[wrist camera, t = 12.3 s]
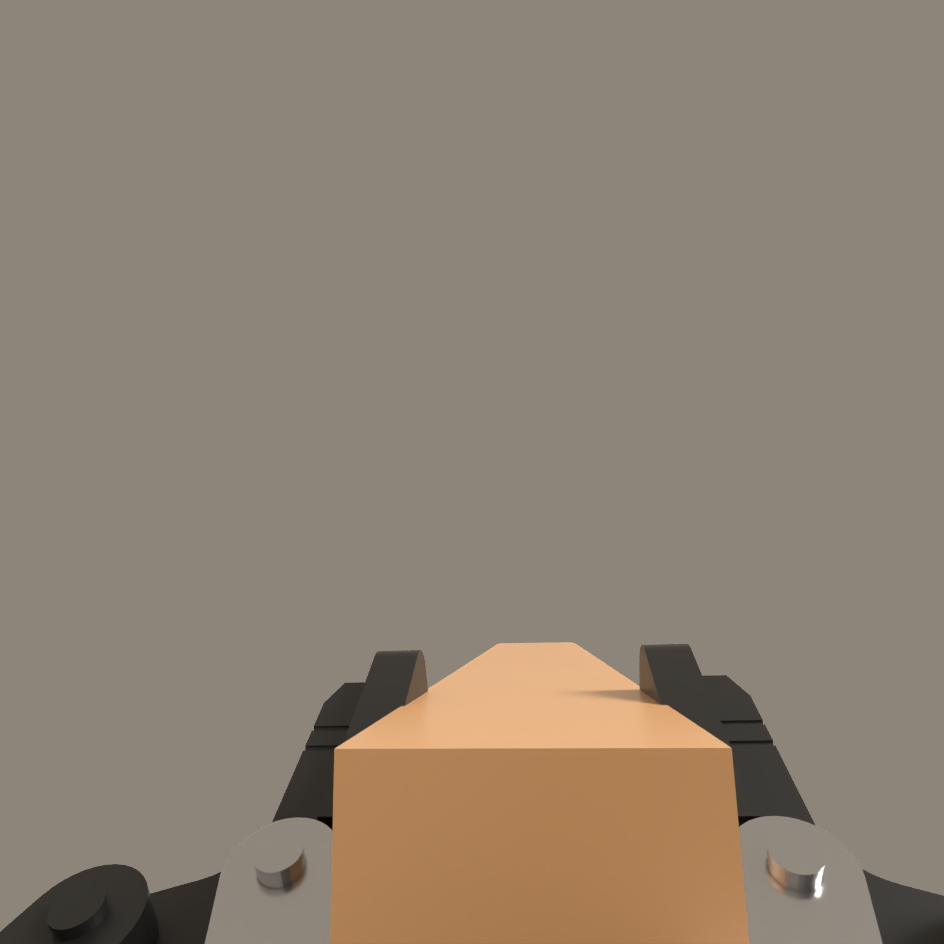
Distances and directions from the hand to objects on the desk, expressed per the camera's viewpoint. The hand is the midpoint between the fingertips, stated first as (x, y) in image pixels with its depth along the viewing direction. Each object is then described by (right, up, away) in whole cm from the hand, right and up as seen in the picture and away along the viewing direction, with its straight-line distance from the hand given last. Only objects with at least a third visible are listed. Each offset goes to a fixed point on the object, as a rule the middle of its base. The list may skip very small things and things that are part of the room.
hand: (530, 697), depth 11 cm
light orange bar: (+1, -5, +8) cm, 9 cm away
